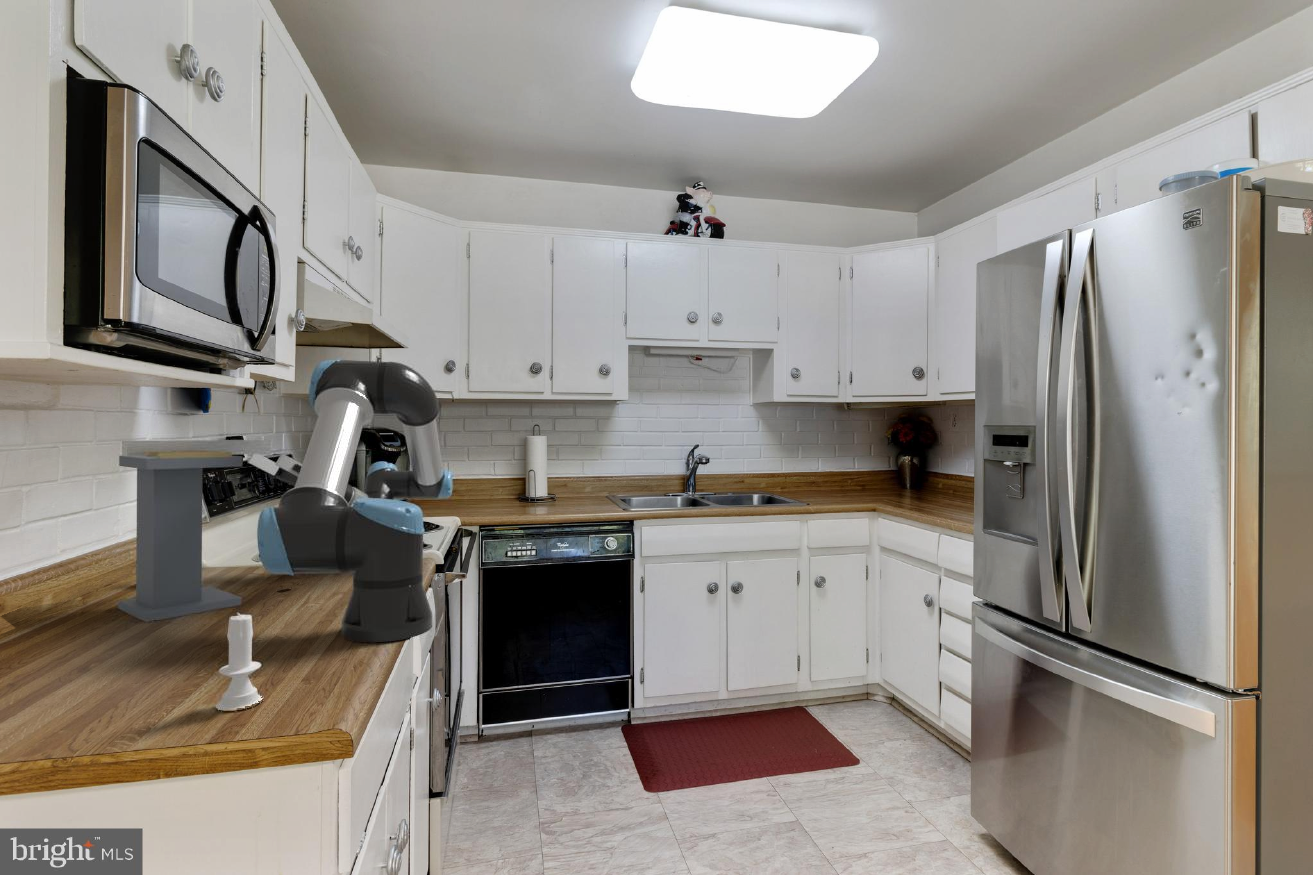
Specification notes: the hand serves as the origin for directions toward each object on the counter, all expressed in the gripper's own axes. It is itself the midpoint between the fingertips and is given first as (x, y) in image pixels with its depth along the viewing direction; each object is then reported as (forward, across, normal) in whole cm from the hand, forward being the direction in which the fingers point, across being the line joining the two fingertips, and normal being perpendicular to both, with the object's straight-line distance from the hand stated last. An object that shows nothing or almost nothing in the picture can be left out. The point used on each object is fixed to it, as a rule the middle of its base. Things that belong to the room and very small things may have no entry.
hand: (264, 457), depth 150 cm
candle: (+12, -64, -41) cm, 77 cm away
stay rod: (+11, -1, -6) cm, 13 cm away
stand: (+1, -5, -34) cm, 34 cm away
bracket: (+16, -9, -8) cm, 20 cm away
